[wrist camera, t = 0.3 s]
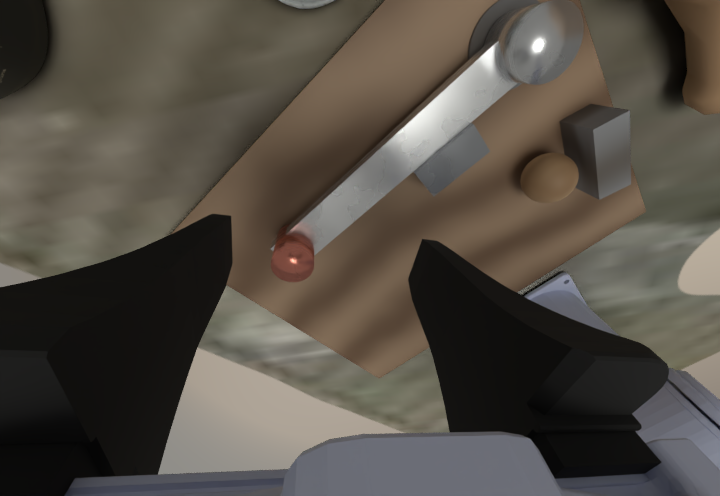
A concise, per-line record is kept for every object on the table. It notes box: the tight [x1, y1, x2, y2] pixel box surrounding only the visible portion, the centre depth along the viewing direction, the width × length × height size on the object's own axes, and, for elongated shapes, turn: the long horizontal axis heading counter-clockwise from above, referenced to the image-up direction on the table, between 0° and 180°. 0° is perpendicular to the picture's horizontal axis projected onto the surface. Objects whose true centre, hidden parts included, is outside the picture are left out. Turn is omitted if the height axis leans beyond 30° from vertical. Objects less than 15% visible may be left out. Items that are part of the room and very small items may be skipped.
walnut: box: [520, 153, 579, 203], centre depth 19 cm, size 3×3×3 cm
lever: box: [270, 0, 584, 282], centre depth 17 cm, size 20×5×3 cm, turn 131°
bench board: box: [170, 0, 646, 378], centre depth 21 cm, size 24×28×4 cm
